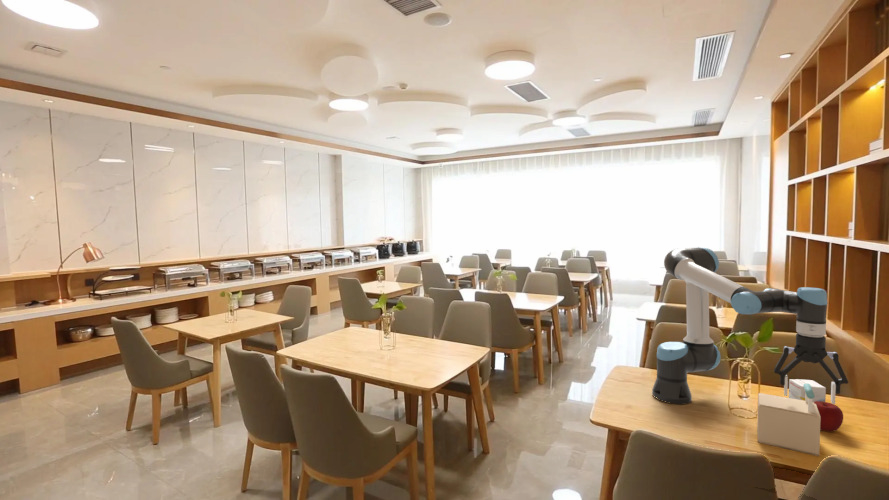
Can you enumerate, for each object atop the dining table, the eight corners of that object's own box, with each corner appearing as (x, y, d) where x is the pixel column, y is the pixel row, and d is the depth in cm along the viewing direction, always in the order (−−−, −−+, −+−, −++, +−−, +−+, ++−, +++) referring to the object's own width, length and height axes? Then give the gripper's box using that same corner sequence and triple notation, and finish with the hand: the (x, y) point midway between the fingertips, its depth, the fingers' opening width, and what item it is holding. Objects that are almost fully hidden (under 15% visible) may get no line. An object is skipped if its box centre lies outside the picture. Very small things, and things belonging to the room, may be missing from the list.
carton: (757, 442, 147) (758, 405, 146) (757, 428, 156) (758, 393, 156) (819, 456, 137) (820, 417, 137) (814, 440, 147) (815, 403, 146)
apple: (831, 424, 158) (832, 398, 157) (849, 437, 149) (850, 409, 148) (802, 422, 160) (802, 396, 160) (818, 434, 151) (819, 407, 150)
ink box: (825, 417, 164) (827, 387, 163) (800, 415, 166) (801, 386, 165) (811, 407, 172) (812, 379, 172) (787, 406, 174) (788, 378, 173)
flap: (759, 405, 146) (759, 385, 146) (758, 393, 155) (759, 375, 155) (818, 416, 137) (818, 395, 137) (813, 403, 146) (814, 383, 146)
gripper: (766, 332, 145) (764, 394, 147) (862, 342, 131) (859, 410, 133) (765, 327, 151) (764, 387, 153) (857, 336, 137) (855, 402, 139)
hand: (808, 398), depth 143 cm, fingers open, 11 cm apart
